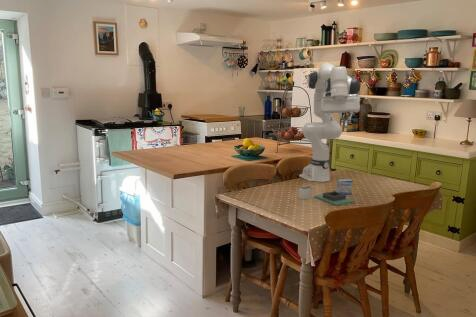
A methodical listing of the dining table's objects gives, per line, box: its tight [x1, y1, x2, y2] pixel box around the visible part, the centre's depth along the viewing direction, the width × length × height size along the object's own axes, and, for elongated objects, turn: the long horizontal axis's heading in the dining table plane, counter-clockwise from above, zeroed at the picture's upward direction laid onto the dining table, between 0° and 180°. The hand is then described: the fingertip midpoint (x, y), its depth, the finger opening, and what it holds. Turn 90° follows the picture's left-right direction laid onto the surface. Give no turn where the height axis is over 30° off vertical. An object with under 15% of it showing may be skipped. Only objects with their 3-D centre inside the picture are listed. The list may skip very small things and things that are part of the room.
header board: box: [313, 190, 356, 207], centre depth 221 cm, size 18×14×4 cm
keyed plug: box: [298, 185, 313, 200], centre depth 224 cm, size 4×6×7 cm, turn 121°
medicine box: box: [335, 178, 353, 196], centre depth 233 cm, size 8×4×9 cm, turn 101°
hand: (340, 120), depth 203 cm, fingers open, 8 cm apart
